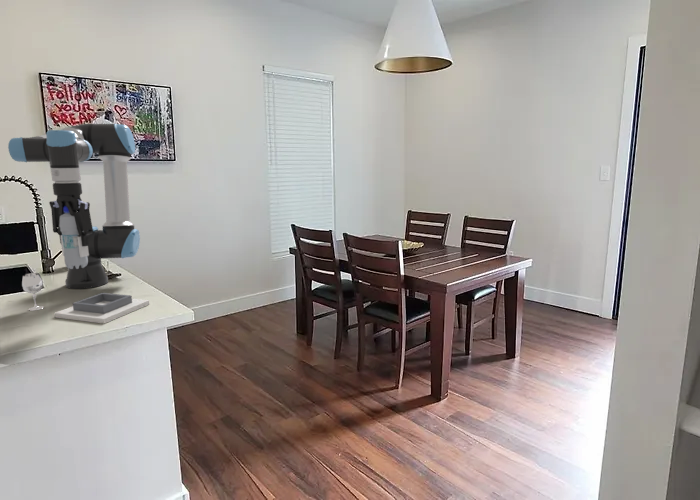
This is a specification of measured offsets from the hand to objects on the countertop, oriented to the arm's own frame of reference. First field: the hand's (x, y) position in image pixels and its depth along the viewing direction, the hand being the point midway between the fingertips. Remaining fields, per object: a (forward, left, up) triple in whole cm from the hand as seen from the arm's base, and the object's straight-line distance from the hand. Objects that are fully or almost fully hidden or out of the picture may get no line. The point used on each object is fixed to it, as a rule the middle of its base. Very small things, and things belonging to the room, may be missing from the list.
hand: (75, 255), depth 144 cm
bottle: (0, 0, -4) cm, 4 cm away
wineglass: (-2, -22, -21) cm, 30 cm away
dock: (-7, +2, -20) cm, 22 cm away
